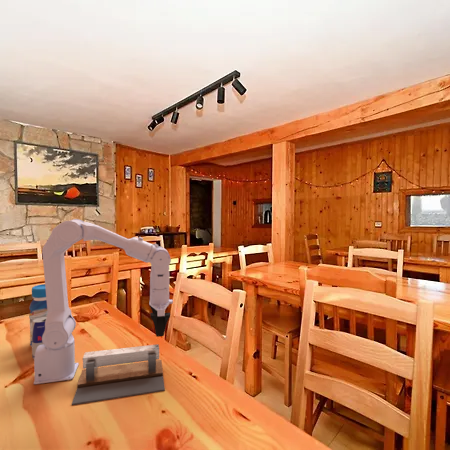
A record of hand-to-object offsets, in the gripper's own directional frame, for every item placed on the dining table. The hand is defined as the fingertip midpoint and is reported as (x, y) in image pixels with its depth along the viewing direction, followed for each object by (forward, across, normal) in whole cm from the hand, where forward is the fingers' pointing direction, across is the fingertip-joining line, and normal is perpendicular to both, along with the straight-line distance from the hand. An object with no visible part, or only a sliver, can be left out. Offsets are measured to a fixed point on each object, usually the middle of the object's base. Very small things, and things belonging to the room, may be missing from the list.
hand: (159, 330), depth 88 cm
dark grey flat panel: (+10, -12, +10) cm, 18 cm away
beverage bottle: (+10, +21, +37) cm, 44 cm away
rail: (+6, -5, +10) cm, 13 cm away
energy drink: (+10, +12, +35) cm, 39 cm away
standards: (+10, -5, +10) cm, 15 cm away
